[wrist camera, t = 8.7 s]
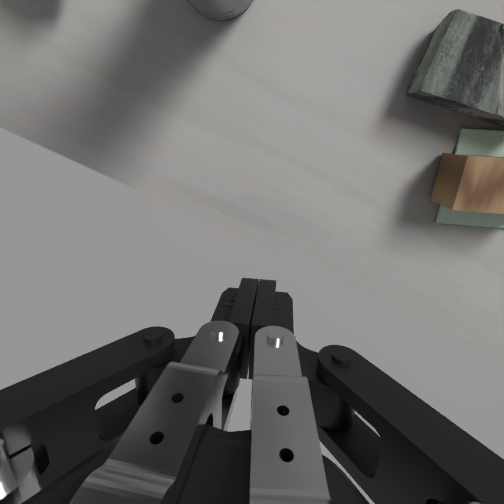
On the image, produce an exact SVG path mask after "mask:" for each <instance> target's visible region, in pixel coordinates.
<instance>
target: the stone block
mask: <svg viewBox="0 0 504 504" xmlns="http://www.w3.org/2000/svg"><path fill="white" fill-rule="evenodd" d="M406 95H408V96H411V97H414V98H417V99H420V100H423V101H426V102H429V103H432V104H435V105H438V106H442V107H445V108H448V109H451V110H454V111H458V112H461V113H464V114H467V115H470V116H473V117H476V118H479V119H482V120H484V121H488V122H491V123H494V124H498V125H501V126H504V24H502V23H499V22H496V21H493V20H490V19H487V18H484V17H481V16H478V15H475V14H471V13H468V12H465V11H462V10H459V9H457V10H454V11H451V12H450V13H449V15H447V16H446V17H445V18H444V19H443V20H442V22H441V23H440V24H439V25H438V26H437V27H436V29H435V32H434V35H433V37H432V39H431V42H430V44H429V48H428V50H427V52H426V54H425V56H424V57H423V59H422V61H421V63H420V65H419V66H418V68H417V69H416V71H415V73H414V76H413V78H412V82H411V83H410V85H409V87H408V91H407V93H406Z"/></svg>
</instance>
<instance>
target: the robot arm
mask: <svg viewBox="0 0 504 504" xmlns="http://www.w3.org/2000/svg"><path fill="white" fill-rule="evenodd" d="M189 1H190V2H191V3H192V5H193V6H194V7H195V8H196V9H197V10H198V11H199V12H200V13H201V14H203V15H204V16H206V17H208V18H210V19H214V20H220V21H221V20H229V19H232V18H235V17H237V16H238V15H240V14H241V13H243V12H244V11H245V10H246V9H247V8H248V7H249V6H250V4H251V2H252V1H253V0H189ZM258 285H259V286H258ZM275 289H276V281H274V280H263V279H260V281H259V279H251V278H242V280H241V283H240V286H239V288H228V289H227V290H225V291H224V292H223V293H222V295H221V297H220V300H219V302H218V305H217V307H216V309H215V312H214V314H213V317H212V319H211V322H209V323H206V324H204V325H203V326H202V327H201V328H200V329H199V331H198V333H197V334H196V336H194V337H189V338H181V339H175V337H174V333H173V332H172V331H171V330H170V329H168V328H165V327H149V328H145V329H143V330H140V331H138V332H136V333H133V334H131V335H129V336H126V337H124V338H121V339H119V340H117V341H115V342H112V343H110V344H107V345H105V346H103V347H101V348H98V349H96V350H93V351H91V352H89V353H86V354H84V355H82V356H79V357H77V358H75V359H73V360H70V361H68V362H66V363H63V364H61V365H58V366H56V367H54V368H51V369H49V370H46V371H44V372H42V373H39V374H37V375H35V376H32V377H30V378H28V379H25V380H23V381H21V382H18V383H16V384H14V385H11V386H9V387H7V388H4V389H2V390H0V504H369V502H368V501H367V500H366V499H365V497H364V496H363V495H362V494H361V493H360V492H359V490H358V489H357V488H356V486H355V485H354V484H353V483H352V482H351V480H350V479H349V478H348V477H347V476H346V474H345V473H344V472H343V471H342V470H341V469H340V468H339V467H338V466H337V465H336V464H335V463H333V462H332V461H331V460H330V459H328V458H327V457H325V456H323V455H322V454H321V448H320V443H319V440H320V441H321V442H322V444H323V445H324V446H325V447H326V448H327V449H328V450H329V452H330V453H331V454H332V455H333V456H334V457H335V458H336V460H337V461H338V462H339V463H340V464H341V465H342V466H343V468H344V469H345V470H346V471H347V472H348V473H349V474H350V476H352V478H353V479H354V480H355V481H356V482H357V484H358V485H359V486H360V487H361V488H362V489H363V490H364V491H365V493H366V494H367V495H368V496H369V497H370V499H371V500H372V501H373V502H374V503H375V504H504V459H502V458H501V457H499V456H498V455H497V454H495V453H494V452H493V451H491V450H490V449H488V448H487V447H486V446H484V445H483V444H482V443H480V442H479V441H477V440H476V439H475V438H473V437H472V436H470V435H469V434H468V433H467V432H465V431H464V430H462V429H461V428H460V427H458V426H457V425H456V424H454V423H453V422H451V421H450V420H448V419H447V418H446V417H445V416H443V415H441V414H440V413H439V412H438V411H436V410H435V409H434V408H432V407H431V406H429V405H428V404H427V403H425V402H424V401H423V400H421V399H420V398H418V397H417V396H416V395H414V394H413V393H411V392H410V391H409V390H407V389H406V388H405V387H403V386H402V385H401V384H399V383H398V382H396V381H395V380H394V379H392V378H391V377H390V376H388V375H387V374H386V373H384V372H383V371H381V370H380V369H379V368H377V367H376V366H375V365H373V364H372V363H370V362H369V361H368V360H366V359H365V358H364V357H362V356H361V355H359V354H358V353H357V352H355V351H354V350H352V349H350V348H347V347H344V346H339V345H329V346H326V347H324V348H322V349H321V350H320V351H319V353H317V352H314V351H311V350H309V349H306V348H304V347H302V346H301V345H300V344H299V343H298V342H297V341H296V338H295V336H294V331H293V302H292V298H291V297H290V295H289V294H288V293H286V292H275ZM248 368H249V379H252V396H251V420H250V430H246V431H235V432H227V428H228V424H229V421H230V417H231V414H232V410H233V407H234V404H235V400H236V396H237V388H238V386H239V381H240V378H244V379H247V374H248ZM133 379H135V383H136V388H134V389H133V390H131V391H129V392H127V393H126V394H124V395H122V396H120V397H118V398H117V399H115V400H113V401H111V402H109V403H107V404H106V405H104V406H102V407H100V408H98V409H97V410H95V406H96V403H97V402H98V400H99V399H100V398H101V397H102V396H103V395H105V394H107V393H108V392H110V391H112V390H114V389H116V388H118V387H120V386H121V385H123V384H125V383H127V382H129V381H131V380H133ZM355 411H356V412H357V413H358V414H360V415H361V416H362V417H363V418H364V419H365V420H366V421H367V422H368V423H370V424H371V425H372V426H373V427H374V428H375V429H376V431H377V432H378V434H379V435H380V437H381V438H380V437H379V436H378V435H377V434H376V433H375V432H374V431H373V430H372V429H371V428H370V427H369V426H368V425H366V424H365V423H364V422H363V421H362V420H361V419H360V418H359V417H358V416H357V415H356V414H355Z"/></svg>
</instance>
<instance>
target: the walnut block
mask: <svg viewBox="0 0 504 504" xmlns="http://www.w3.org/2000/svg"><path fill="white" fill-rule="evenodd" d="M430 200H431V201H433V202H435V203H437V204H440V205H442V206H444V207H446V208H449V209H451V210H458V211H471V212H484V213H498V214H504V157H495V156H479V155H462V154H446V153H442V157H441V161H440V165H439V168H438V172H437V176H436V180H435V184H434V188H433V191H432V195H431V199H430Z"/></svg>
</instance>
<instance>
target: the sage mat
mask: <svg viewBox="0 0 504 504" xmlns="http://www.w3.org/2000/svg"><path fill="white" fill-rule="evenodd" d="M454 154H462V155H479V156H495V157H504V131H498V130H480V129H461V130H460V134H459V138H458V141H457V145H456V149H455V152H454ZM436 223H443V224H455V225H468V226H481V227H494V228H504V214H498V213H484V212H471V211H458V210H451V209H449V208H446V207H444V206H442V205H440V207H439V211H438V214H437V218H436Z"/></svg>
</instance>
